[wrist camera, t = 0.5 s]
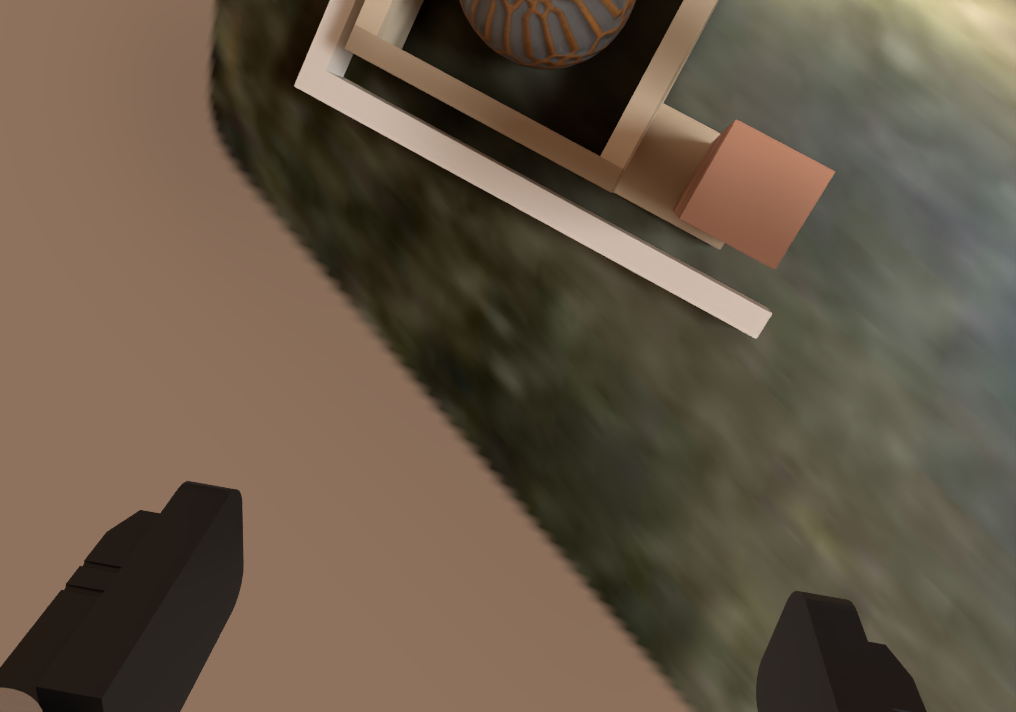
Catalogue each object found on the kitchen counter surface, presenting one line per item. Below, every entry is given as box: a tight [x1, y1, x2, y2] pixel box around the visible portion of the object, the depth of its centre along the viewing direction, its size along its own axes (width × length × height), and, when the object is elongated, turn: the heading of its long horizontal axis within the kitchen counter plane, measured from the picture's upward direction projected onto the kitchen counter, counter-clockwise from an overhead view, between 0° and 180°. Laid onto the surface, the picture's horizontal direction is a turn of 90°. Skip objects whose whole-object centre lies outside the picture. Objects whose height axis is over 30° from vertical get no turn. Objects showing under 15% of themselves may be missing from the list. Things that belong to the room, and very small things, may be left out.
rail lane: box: [294, 0, 772, 339], centre depth 33 cm, size 17×22×2 cm
